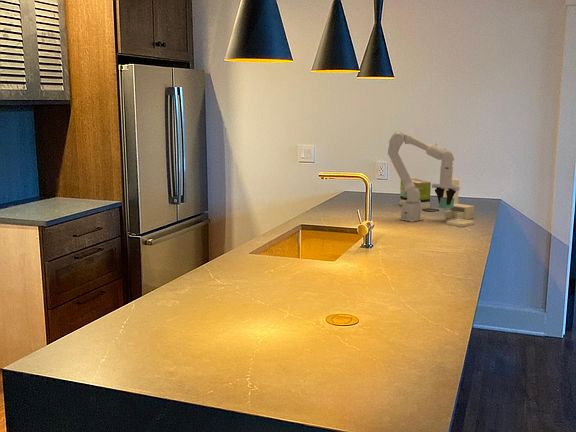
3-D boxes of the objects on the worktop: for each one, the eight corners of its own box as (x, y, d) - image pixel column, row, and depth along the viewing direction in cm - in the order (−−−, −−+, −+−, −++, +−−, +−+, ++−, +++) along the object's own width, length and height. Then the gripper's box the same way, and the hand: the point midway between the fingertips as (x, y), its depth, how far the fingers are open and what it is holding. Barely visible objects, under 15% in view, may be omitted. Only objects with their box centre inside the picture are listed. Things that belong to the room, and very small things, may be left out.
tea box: (398, 205, 363) (400, 178, 361) (413, 204, 368) (415, 178, 365) (415, 209, 350) (416, 182, 347) (430, 208, 354) (431, 181, 351)
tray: (461, 227, 305) (461, 224, 305) (446, 224, 311) (446, 221, 311) (474, 224, 312) (474, 221, 312) (458, 221, 318) (458, 218, 318)
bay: (459, 220, 320) (460, 208, 319) (442, 217, 327) (442, 206, 326) (473, 217, 328) (474, 206, 327) (456, 215, 335) (457, 203, 334)
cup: (459, 209, 353) (460, 179, 350) (443, 208, 353) (445, 179, 350) (455, 206, 361) (457, 177, 358) (440, 206, 361) (442, 177, 358)
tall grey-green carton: (446, 208, 316) (447, 198, 315) (439, 207, 319) (440, 197, 318) (453, 208, 320) (454, 198, 319) (446, 207, 323) (447, 197, 322)
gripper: (463, 177, 313) (462, 205, 315) (438, 174, 323) (436, 201, 326) (455, 178, 308) (453, 206, 311) (429, 175, 319) (428, 202, 321)
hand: (444, 204), depth 318 cm, fingers closed on tall grey-green carton, 4 cm apart
